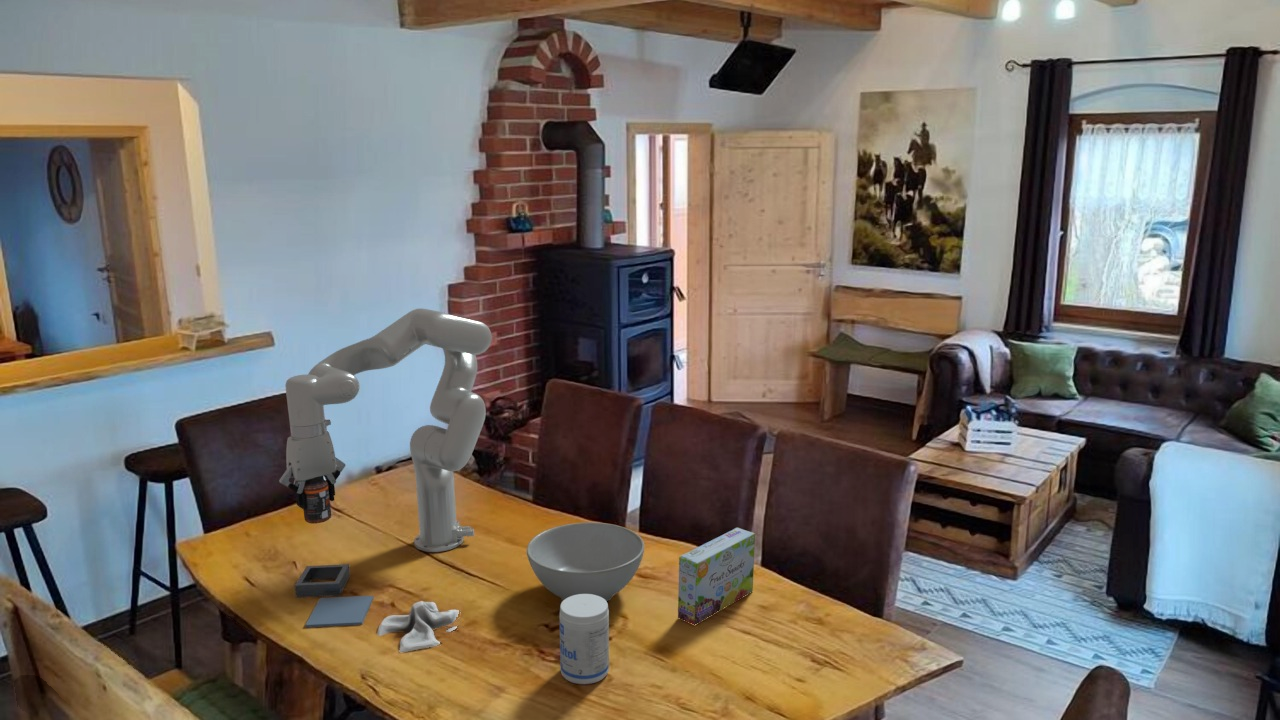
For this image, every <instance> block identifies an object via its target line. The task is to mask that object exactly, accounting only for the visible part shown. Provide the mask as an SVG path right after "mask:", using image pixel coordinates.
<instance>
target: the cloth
mask: <svg viewBox="0 0 1280 720" xmlns="http://www.w3.org/2000/svg"><path fill="white" fill-rule="evenodd" d="M458 614H459V610H458V609H449V610H446V611H439V609H438V605H437V604H436V603H435V602H434V601H423V600H420V601H417V602H414V603H413V604H412V606H411V608H410V611H409V613H408V614H405V615H404V614H403V615H400V614H399V615H398V614H396V615H388V616H385V618H384V619H382V621H381V622H380V625H379V626H378V629H377V632H376V634H377V636H379V637H380V636H383V635H386V633H387V634H391V633H398V632H399V631H400V632H401V631H404V632H408V633H406V634H404V635H403V636H402V637H401V639H400V640H399V649H400V650H399V649H398V651H399V652H405V653H409V652H408V651H411V652H413V651H412V650H416V651H418V650H417V649H422V648H427V649H430V648H429V647H433V648H435V647H434V646H437V645H439V644H440V642H441V641H439V640H437V638H436V634H435V633H434V631H433V630H432V629H435V628H439V627H442V626H446V625H449V624H451V623H453V622H454V621H455V620H456V617H458ZM456 621H457V620H456ZM457 626H458V625H455V626H452V628H451V627H448V628H447V629H448V630H446V632H451V631H453V630H455V629H456V628H457ZM397 631H398V632H397ZM400 632H399V633H400ZM453 632H454V631H453ZM401 633H402V632H401ZM434 634H435V635H434ZM437 647H438V646H437ZM422 650H423V649H422ZM399 652H398V653H399Z"/></svg>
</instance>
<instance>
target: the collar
mask: <svg viewBox="0 0 1280 720" xmlns="http://www.w3.org/2000/svg"><path fill="white" fill-rule="evenodd" d="M350 569H351V568H350V563H346V564H344V563H343V564H342V563H341V564H324V565H306V566H305V567H304V569H303V571H302V572H301V575H300V577H299V578H298V580H297V581H296V583H295V584H294V591H295V592H294V593H295V599H297V598H311V597H312V598H313V597H314V598H316V597H335V596H338V597H340V596H341V595H342V593H343V591H344V588H345V587H346V585H347V582H348V581H349V579H350V577H351V570H350ZM330 579H331V580H332V579H334V580H335V581H318V582H317V581H314V582H311V581H312V580H330Z"/></svg>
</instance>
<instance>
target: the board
mask: <svg viewBox="0 0 1280 720" xmlns="http://www.w3.org/2000/svg"><path fill="white" fill-rule="evenodd" d="M373 600H374V595H360V596H359V595H357V596H356V595H354V596H338V597H335V596H332V597H320V598H319V600H318V601H317V603H316V605H315V606H314V609H313V610H312V612H311V614H310V615H309V617H308V619H307V620H306V621H307V622H306V623H305V624H304V626H305V628H319V627H320V628H321V627H323V628H324V627H341V626H343V627H344V626H345V627H346V626H361V625H363V623H364V621H365V619H366V617H367V615H368V612H369V610H370V607H371V606H372V603H373Z"/></svg>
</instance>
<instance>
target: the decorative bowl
mask: <svg viewBox="0 0 1280 720" xmlns="http://www.w3.org/2000/svg"><path fill="white" fill-rule="evenodd" d="M644 554H645V542H644V539H643V538H642V537H641V536H640V535H639V534H638V533H636V532H635V531H633V530H631V529H629V528H627V527H624V526H620V525H617V524H612V523H604V522H594V521H593V522H592V521H591V522H575V523H573V522H572V523H569V524H562V525H560V526H554V527H552V528H549V529H546V530H544V531H541V532H539V533H538V534H537V535H535V536H534V537H533V538H532V539H531V540H530V541H529V542H528V545H526V555H527V556H526V557H527V560H528V562H529V565H530V567H531V569H532V571H533V573H534V575H535V576H536V578H537V579H538V580H539V582H540V583H541V584H542V585H543V586H544V587H545V588H546V589H547V590H548V591H549V592H550V593H552V594H554V595H555V596H557V597H560V598H561V601H562V602H563V601H564V600H565V599H566V598H568V597H570V596H573V595H578V594H593V595H597V596H600V597H602V598H603V599H605V600H606V601H608V600H609V601H611V600H612V598H613V597H612V596H614V595H616V594H618V593H619V592H620V591H622V590H623V589H624V588H625V587H626V586H627V585H628V584H629V583H630V582H631V580H632V579H633V578H634V576H635V574H636V573H637V571H638V569H639V567H640V565H641V563H642V559H643V556H644ZM611 597H612V598H611ZM609 601H608V602H609Z"/></svg>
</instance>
